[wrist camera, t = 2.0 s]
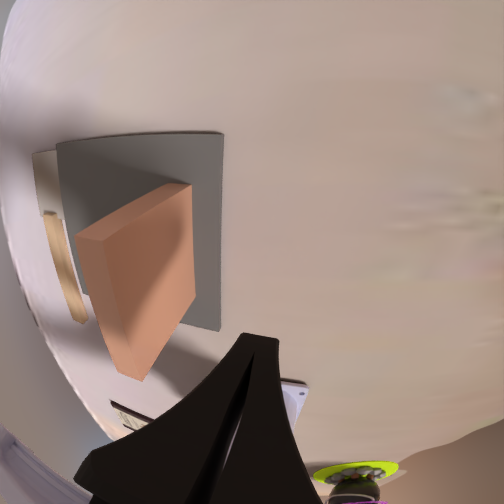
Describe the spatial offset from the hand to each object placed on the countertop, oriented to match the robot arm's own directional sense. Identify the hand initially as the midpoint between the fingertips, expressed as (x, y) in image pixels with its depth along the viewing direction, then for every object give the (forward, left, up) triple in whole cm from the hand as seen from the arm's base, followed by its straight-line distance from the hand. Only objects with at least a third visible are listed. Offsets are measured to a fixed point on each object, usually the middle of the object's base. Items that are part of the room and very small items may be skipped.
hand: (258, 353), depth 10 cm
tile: (0, +6, -8) cm, 10 cm away
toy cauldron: (-39, -18, -9) cm, 44 cm away
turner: (-2, +20, -8) cm, 22 cm away
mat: (0, +11, -8) cm, 14 cm away
